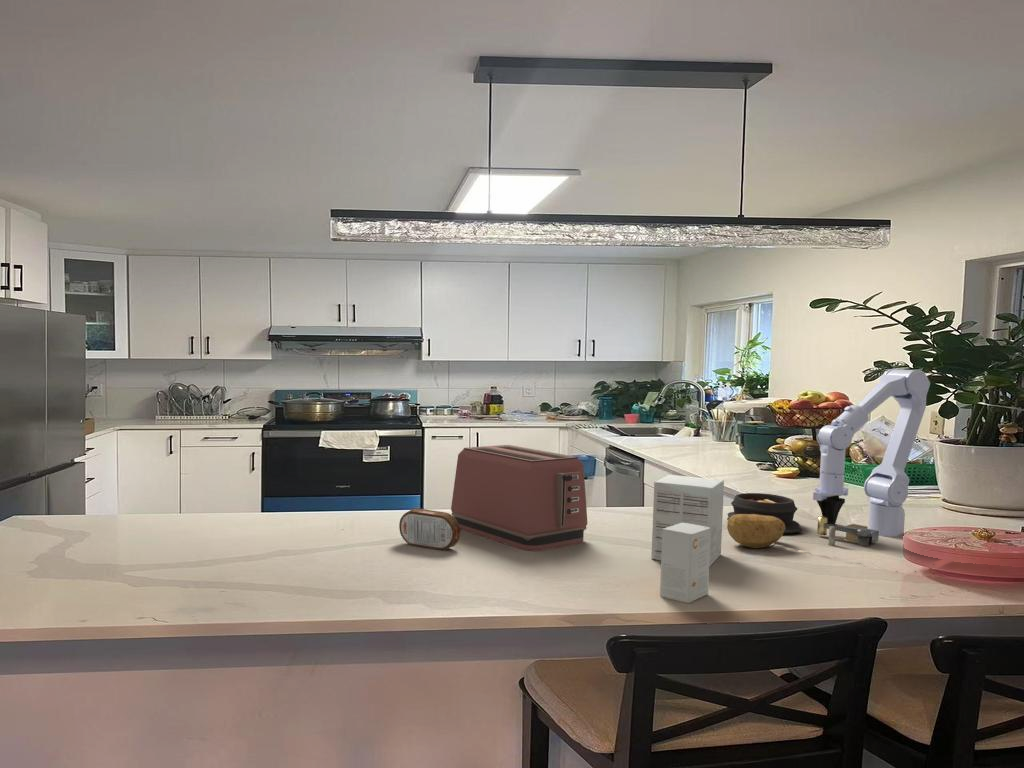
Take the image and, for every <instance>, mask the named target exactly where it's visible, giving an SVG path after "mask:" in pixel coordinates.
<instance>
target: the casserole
mask: <svg viewBox="0 0 1024 768" xmlns="http://www.w3.org/2000/svg"><path fill="white" fill-rule="evenodd" d="M730 504H731V505H732V507H733V511H731V512H730V511H729V512H728V513H727V518H726V519H727V521H728V520H729V518H730V517H731V516H733V515H736V514H757V515H765V516H773V517H776V518H779V519H780V520H782V521H783V522H784V524H785V530H784V533H783V534H796V533H797V534H798V533H801V532H802V531H803V530H802V528H801V525H800V523H799V522H798V521H796V520H794V516H795V513H796V511H798V507H797V506H796V504H795V500H794V499H792V498H790V497H786V496H784V495H783V496H782V495H778V494H770V493H759V492H756V493H755V492H752V493H751V492H745V493H738V494H736V495H735V496H734V498H733V501H731V503H730Z"/></svg>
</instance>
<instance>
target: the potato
mask: <svg viewBox="0 0 1024 768" xmlns="http://www.w3.org/2000/svg"><path fill="white" fill-rule="evenodd" d="M726 527H727V528H726V529H727V532H728V534H729V537H731V538H732V540H734V542H736V543H738V544H740V545H741V546H744V547H748V548H751V549H752V548H753V549H762V548H766V547H768V546H772V545H773V544H775V543H776V542H778V541H779V540H780V539H781V538H782V537H783V536H784V534H785V533H784V530H785V524H784V522H783V521H782V520H780V519H779V518H776V517H773V516H765V515H757V514H736V515H733V516H731V517H730V518H729V520H727V523H726Z"/></svg>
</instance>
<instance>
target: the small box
mask: <svg viewBox="0 0 1024 768" xmlns="http://www.w3.org/2000/svg"><path fill="white" fill-rule="evenodd" d="M710 534H711V528H709V527H705V526H700V525H695V524H688V523H679V524H676V525H673V526H670V527H667V528H663V529H662V552H661V560H660V581H659V582H660V584H659V585H660V587H659V596H660V597H662V598H666V599H669V600H674V601H677V602H682V603H685V604H686V603H687V604H690V603H693V602H695V601H696V600H698V599H701V598H702V597H705V596H707V595H708V594H709V587H710V586H709V583H710V567H709V560H710Z"/></svg>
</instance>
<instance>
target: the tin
mask: <svg viewBox="0 0 1024 768" xmlns="http://www.w3.org/2000/svg"><path fill="white" fill-rule="evenodd" d="M398 526H399V533H400V536H401V538H402V539H403V540H404V542H405V543H407V544H408V545H410V546H415V547H419V548H428V549H433V550H437V551H445V550H448V549H450V548H452V547H454V546H456V545H457V544H458V542H459V541H460V537H461V529H460V527H459V524H458V522H457V520H456V519H455V518H454V517H453V516H452V514H450V513H449V512H444V511H439V510H432V509H425V508H419V507H418V508H416V507H415V508H412V509H410V510H408V511H407V512H405V513H404V514H402V516H401V518H400V519H399V524H398Z"/></svg>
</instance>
